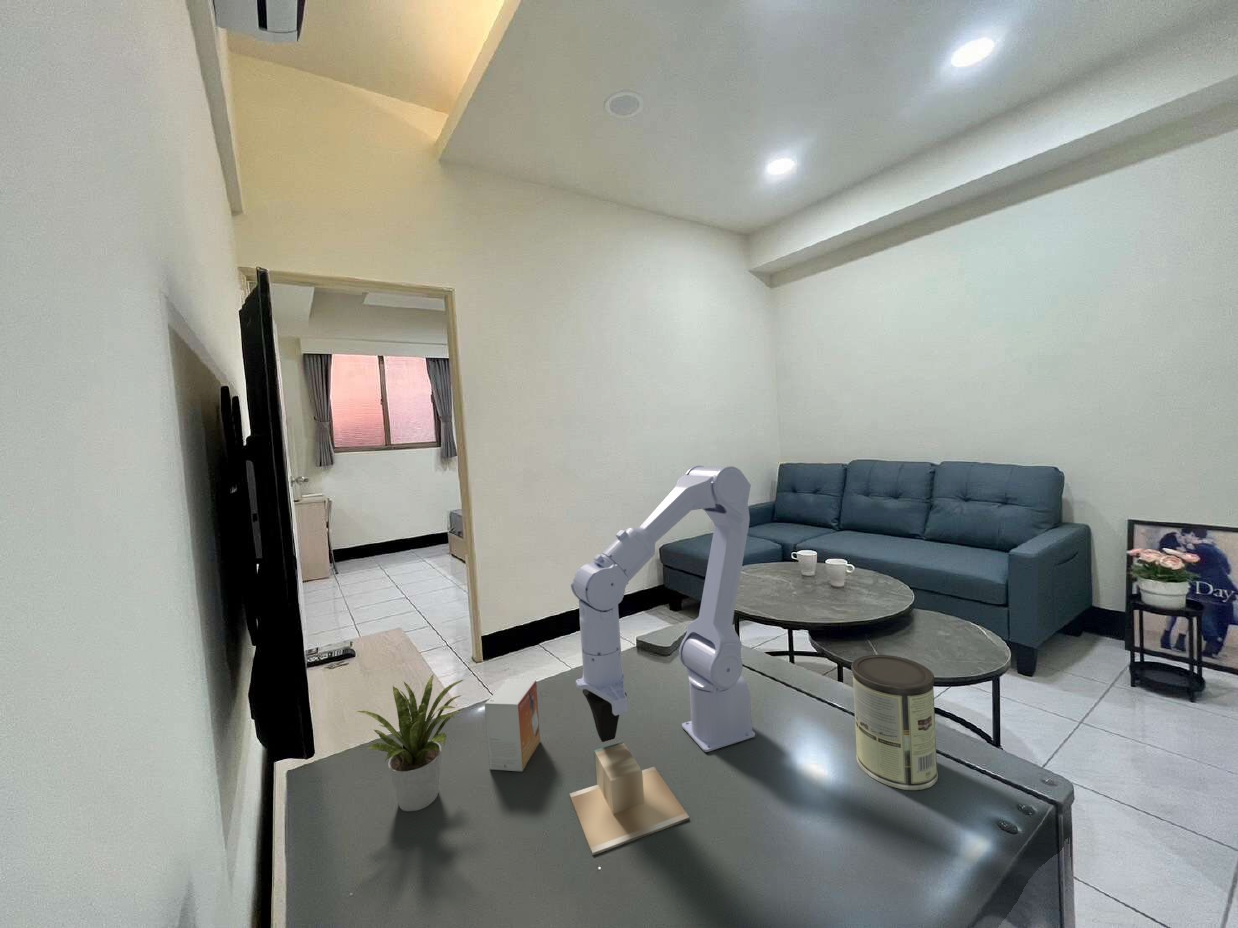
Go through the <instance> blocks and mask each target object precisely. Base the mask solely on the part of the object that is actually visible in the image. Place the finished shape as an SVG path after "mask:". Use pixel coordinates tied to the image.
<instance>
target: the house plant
mask: <svg viewBox="0 0 1238 928" xmlns="http://www.w3.org/2000/svg"><path fill="white" fill-rule="evenodd" d="M433 680H434V674H432V675H431V676H430V677H429V679H428V681H427V682H426V685H425V688H424V692H423V696H422V698H421V702H420V705H418V704H417V699H416V696H415V692H414V691H413V690H412V688H411V687H410V685H409V684H408V683H406V682H405V681H403V683H404V687H405V689H406V691H407V693H408V696H409V697H407V696H406V694H405V693H404V692H403V691H402V690H400V689H398V688H397V687H395V686H394V684H393V685H392V693H393V699H394V703H395V707H396V713H397V718H398V728H399V732H398V731H397V730H396V729H395V727H394V726H393V725H392V724H391V723H390V722H389V721H388V720H387V719H385V718H384V717H383V716H381V715H379V714H377V713H375V712H371V711H368V710H367V711H366V710H356V712H357V713H361V714H365V715H367V716H370V717H372V718H374V719H375V721H377V722H379V726H380V727H382V728H386V729H387V730H388V731H389V732H390V734H392V735H393V736H394V738H396V740H398V741H399V742H400V744H399V743H398V742H397V741H395V740H394V739H393V738H392V737H390V736H388V735H387V734H385V733H384V732H382V731H380V730H377V729H373V730H374V732H375V733H376V734H377V735H378V736H379V738H380V739H381V741H383V742H378V743H374V744H372V745H370V746H368V748H366V750H368V749H369V750H374V751H380V752H386V753H387V754H386V759H385V760H384V762H387V760H388V763H387V766H388V769H389V770H388V771H389V773H390V777H391V781H392V785H393V788H394V791H395V796H396V799H397V802H398V805H399V808H400V810H402V811H404V812H414V811H420V810H422V809H425V808H427V807H428V806H429V805H431V804H433V802H434V801H435V800H436V799H437V797H438V794H439V786H440V785H439V783H440V771H441V760H442V750H443V749H442V746H441V744H442V745H443V746H445V743H446V739H447V734H446V733H443V732H442V733H441V731H442V729H443V728H444V727H445V725H446V724H447V723H448V721H449V720H450V719H451V718H454V719H455V717H454V715H455V714H457V713H458V712H459V713H460V712H461V711H462V710H463V708H461V709H458V710H455V711H453V712H451V713H450V714H442V713H443V712H444V710H445V709H455V708H456V707H455V706H452V705H449V704H451V703H452V701H454V700H456V699H458V698H460V697H461V696H462V695H456V696H454V697H452V698H450V699H449V700H447V701H446V702H445V703H444V704H443V705H442V706H440V707H439V708H438V709H437V710H436V708H437V707H438V705H439V704H440V702H441V700H442V699H443V698H444V697H445V696H446V695H447V694H448V693H449V691H451V689H452V688H453V687H454V686H456V685H457V684H460V683H462V682H463V681H465V680H466V679H461V680H458V681H455V682H453V683H451V684H449V685H448V686H447V687H446V688H444V689H443V690H442V691H441V692H440V693H439V695H437V697H436V699H435V700H434V702H433V704H432V706H431V708H430V710H429V709H428V708H429V704H430V699H431V696H432V691H433V686H434V685H433ZM428 710H429V712H428ZM435 710H436V711H435ZM427 712H428V715H427ZM437 712H438V714H437V715H436V713H437ZM435 715H436V718H435V719H434V720H433V718H434V716H435ZM432 720H433V721H432ZM441 721H442V722H441ZM440 722H441V723H440ZM439 723H440V725H439V727H438V728H437V730H436V732H435V733H434V735H433V736H432V738H431V740H429V739H430V736H431V735H432V733H433V730H434V728H436V726H437V725H438V724H439ZM440 743H441V744H440ZM401 744H402V745H401Z"/></svg>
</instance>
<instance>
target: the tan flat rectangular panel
mask: <svg viewBox="0 0 1238 928" xmlns="http://www.w3.org/2000/svg"><path fill="white" fill-rule="evenodd" d="M641 770H642V775H643V791H644V803H643V804H641V805H638V806H635V807H632V808H629V809H626V810H624V811H621V812H618V813H615V814H612V812H611V810H610V808H609V806H608V804H607V802H606V800H605V798H604V796H603V794H602V792H601V790H600V788H599V786H598V784H595V785H593V786H592V785H591V786H589V787H586V788H583V789H579V790H577V791H573V792H571V793H569V799H570V801H571V803H572V806H573V809H574V811H575V813H576V815H577V818H578V822H579V823H580V824H579V825H580V826H581V829H582V831H583V835H584V836H585V839H586V841H587V845H588V847H589V850H590V852H591V855H592V856H595V855H599V854H601V853H603V852H605V851H609V850H611V849H615V848H616V847H621V846H622V844H623V845H625V844H628V843H630V842H633V841H635V840H638V839H641V838H644V837H647V836H650V835H652V834H655V833H657V832H660V831H663V830H665V829H668V828H671V827H674V826H676V825H679V824H681V823H684V822H687V821H689V820H690V816H689V815H688V813H687V812H686V810H685V809H684V807H683V806H682V805H681V803H680V802H679V800H678V799H677V798H676V797H675V795H674V793H673V792H672V791H671V789H670V787H669V786H668V785H667V783H666V782H665V780H664V779H663V778H662V775H660V773H659V772H658V770H657V769H656V767H655V766H652V767H649V768H645V769H641ZM624 843H625V844H624Z"/></svg>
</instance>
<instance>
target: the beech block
mask: <svg viewBox="0 0 1238 928" xmlns="http://www.w3.org/2000/svg"><path fill="white" fill-rule="evenodd" d="M593 754H594V755H593V756H594V769H595V781H596V785H598V786H599V788H600V790H601V792H602V794H603V796H604V798H605V800H606V802H607V804H608V806H609V808H610V810H611V812H612V814H615V813H618V812H621V811H624V810H626V809H629V808H632V807H635V806H638V805H641V804H643V803H644V791H643V775H642V770H643V769H642V768H641V766H640V765H639V763H638V762H637V761H636V759H635V758H634V756H633V755H632V753H631V751H630V750H629V748H628V747H627V746H626V744H625V742H624V741H621V742H616V743H614V744H611V745H607V746H605V747H601V748H597V749H594V750H593Z"/></svg>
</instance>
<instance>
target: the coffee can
mask: <svg viewBox="0 0 1238 928" xmlns="http://www.w3.org/2000/svg"><path fill="white" fill-rule="evenodd" d="M850 665H851V666H850V668H851V673H852V685H853V686H852V687H853V703H854V704H853V705H854V725H855V740H856V741H855V745H856V746H855V747H856V753H855V754H856V761H857V764H858V765H859V767H860V769H861V770H862V771H863V772H864V773H865V774H866V775H868V776H869V777H870V778H872V779H874V780H876V781H877V782H880V783H881V784H883V785H886V786H888V787H891V788H892V787H893V788H896V789H901V790H903V791H904V790H906V791H921V790H922V791H923V790H925V789H929V788H931V787H933V785H935V784H936V783H937V781H938V778H939V776H938V775H939V774H938V773H939V772H938V762H937V760H938V759H937V741H936V740H937V739H936V721H935V720H936V711H935V692H934V691H935V690H934V684H935V675H934V674H933V673H934V672H932V671H931V670H930V669H929V668H928V667H926V666H924V665H923V664H922V663H919V662H916V661H915V660H914V661H913V660H911V659H908V658H904V657H901V656H900V657H899V656H897V655H896V656H895V655H886V654H868V655H863V656H860V657H857V658H856V659H855V660H853V661H852V663H851V664H850Z"/></svg>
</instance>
